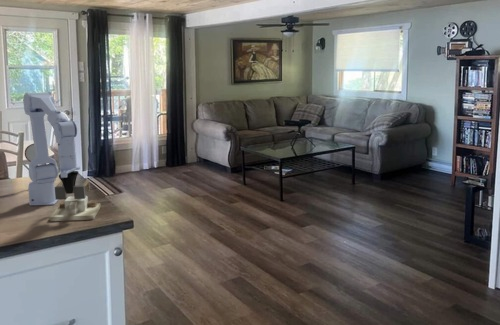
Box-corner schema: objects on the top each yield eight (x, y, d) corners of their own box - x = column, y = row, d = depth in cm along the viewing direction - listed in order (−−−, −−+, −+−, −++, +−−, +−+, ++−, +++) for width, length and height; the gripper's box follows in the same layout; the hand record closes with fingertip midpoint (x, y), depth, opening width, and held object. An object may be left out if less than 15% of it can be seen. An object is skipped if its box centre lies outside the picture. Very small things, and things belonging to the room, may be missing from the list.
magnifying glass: (28, 189, 211) (24, 144, 207) (27, 188, 213) (23, 144, 209) (48, 186, 216) (45, 142, 212) (48, 185, 218) (44, 142, 214)
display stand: (50, 221, 170) (48, 206, 168) (60, 208, 184) (59, 194, 183) (93, 219, 172) (92, 204, 171) (100, 206, 186) (99, 193, 185)
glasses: (55, 199, 171) (54, 187, 170) (62, 191, 181) (61, 180, 180) (84, 198, 172) (83, 186, 171) (90, 190, 182) (89, 179, 181)
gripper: (74, 159, 162) (77, 197, 165) (83, 151, 176) (85, 187, 179) (52, 159, 161) (56, 198, 164) (63, 151, 175) (66, 187, 178)
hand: (70, 192), depth 172 cm, fingers closed on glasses, 2 cm apart
